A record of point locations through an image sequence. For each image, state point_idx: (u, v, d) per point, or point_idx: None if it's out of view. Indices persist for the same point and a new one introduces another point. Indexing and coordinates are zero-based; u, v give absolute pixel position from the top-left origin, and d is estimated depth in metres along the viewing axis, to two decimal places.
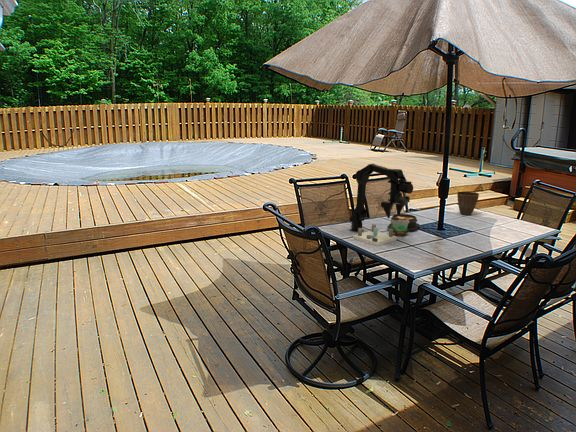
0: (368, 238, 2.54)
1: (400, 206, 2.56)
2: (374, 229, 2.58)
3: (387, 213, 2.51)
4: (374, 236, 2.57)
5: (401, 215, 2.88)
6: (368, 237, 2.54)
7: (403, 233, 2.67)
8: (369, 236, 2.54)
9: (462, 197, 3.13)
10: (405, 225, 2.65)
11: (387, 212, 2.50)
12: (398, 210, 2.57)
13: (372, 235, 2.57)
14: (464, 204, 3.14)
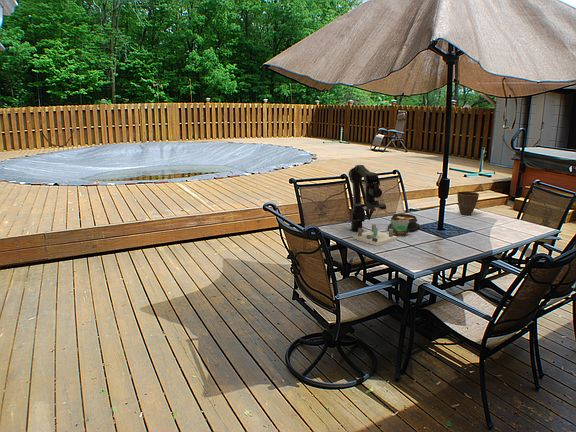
0: (368, 238, 2.54)
1: (370, 210, 2.56)
2: (374, 229, 2.58)
3: (367, 215, 2.57)
4: (374, 236, 2.57)
5: (401, 215, 2.88)
6: (368, 237, 2.54)
7: (403, 233, 2.67)
8: (369, 236, 2.54)
9: (462, 197, 3.13)
10: (405, 225, 2.65)
11: None
12: (369, 214, 2.57)
13: (372, 235, 2.57)
14: (464, 204, 3.14)
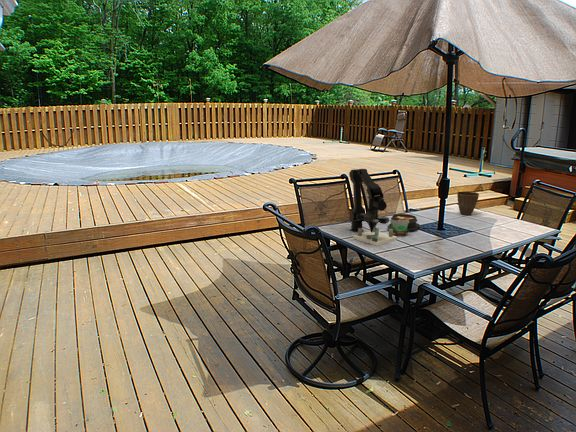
0: (368, 238, 2.54)
1: None
2: (375, 229, 2.57)
3: None
4: (375, 236, 2.57)
5: (401, 215, 2.88)
6: (368, 237, 2.54)
7: (403, 233, 2.67)
8: (369, 236, 2.54)
9: (462, 197, 3.13)
10: (405, 225, 2.65)
11: None
12: None
13: (373, 235, 2.57)
14: (464, 204, 3.14)
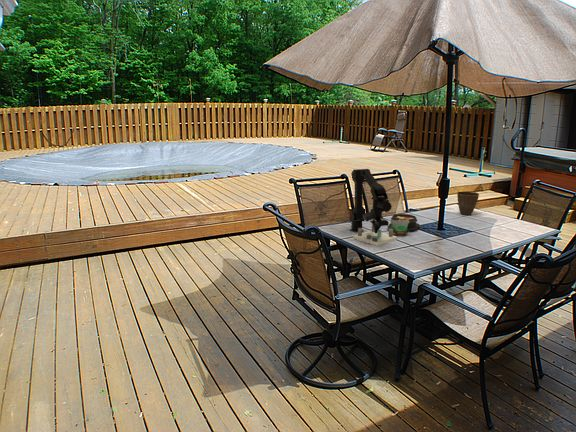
0: None
1: None
2: None
3: None
4: None
5: (401, 215, 2.88)
6: None
7: (403, 233, 2.67)
8: (367, 236, 2.54)
9: (462, 197, 3.13)
10: (405, 225, 2.65)
11: None
12: None
13: (374, 236, 2.55)
14: (464, 204, 3.14)
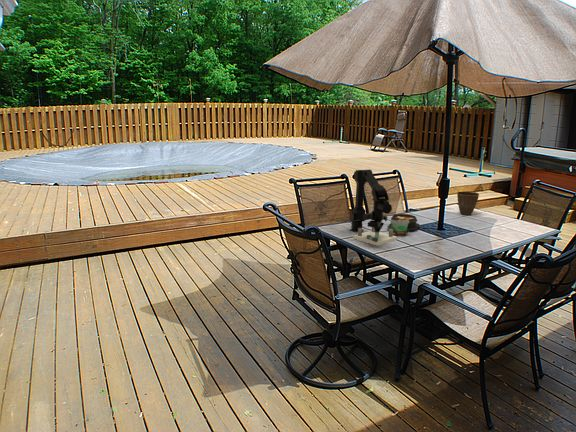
0: None
1: None
2: None
3: None
4: None
5: (401, 215, 2.88)
6: None
7: (403, 233, 2.67)
8: None
9: (462, 197, 3.13)
10: (405, 225, 2.65)
11: None
12: None
13: (372, 237, 2.53)
14: (464, 204, 3.14)
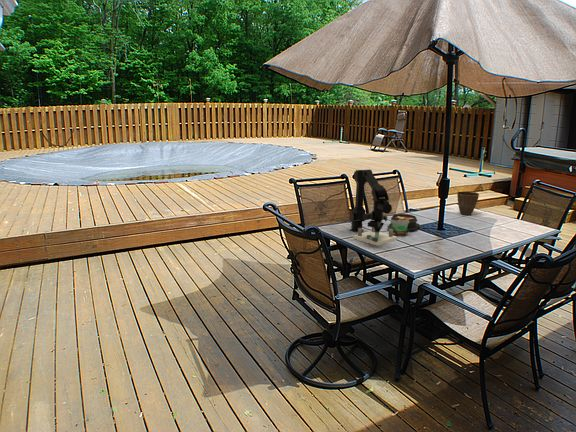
0: None
1: None
2: None
3: None
4: None
5: (401, 215, 2.88)
6: None
7: (403, 233, 2.67)
8: None
9: (462, 197, 3.13)
10: (405, 225, 2.65)
11: None
12: None
13: (372, 237, 2.53)
14: (464, 204, 3.14)
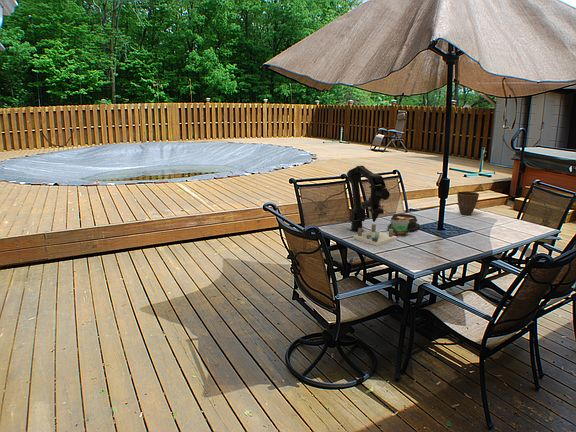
0: None
1: None
2: None
3: None
4: None
5: (401, 215, 2.88)
6: None
7: (403, 233, 2.67)
8: None
9: (462, 197, 3.13)
10: (405, 225, 2.65)
11: None
12: None
13: (372, 237, 2.53)
14: (464, 204, 3.14)
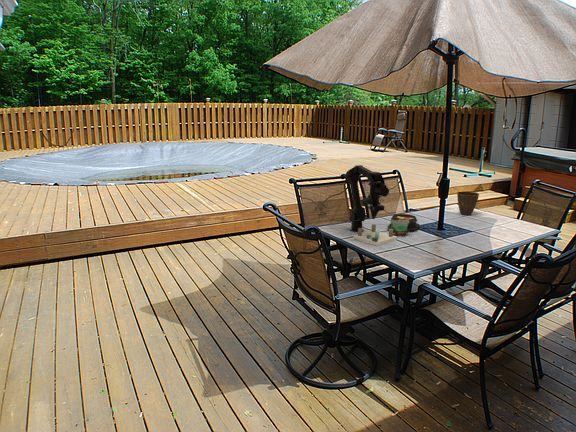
0: None
1: None
2: None
3: None
4: None
5: (401, 215, 2.88)
6: None
7: (403, 233, 2.67)
8: None
9: (462, 197, 3.13)
10: (405, 225, 2.65)
11: None
12: None
13: (372, 237, 2.53)
14: (464, 204, 3.14)
